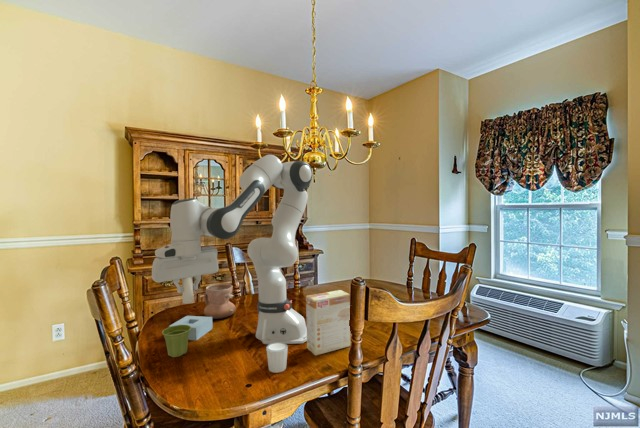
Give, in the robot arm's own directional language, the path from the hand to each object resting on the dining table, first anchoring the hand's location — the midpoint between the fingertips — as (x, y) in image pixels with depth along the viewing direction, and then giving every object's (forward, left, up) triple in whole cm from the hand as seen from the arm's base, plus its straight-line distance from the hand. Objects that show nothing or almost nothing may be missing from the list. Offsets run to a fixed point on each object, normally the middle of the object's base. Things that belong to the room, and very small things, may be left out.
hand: (187, 290), depth 102 cm
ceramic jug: (+14, -45, -25) cm, 54 cm away
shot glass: (-29, -3, -25) cm, 38 cm away
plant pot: (+10, -7, -25) cm, 28 cm away
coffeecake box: (-43, -20, -25) cm, 54 cm away
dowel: (0, 0, -4) cm, 4 cm away
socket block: (+15, -24, -25) cm, 38 cm away
